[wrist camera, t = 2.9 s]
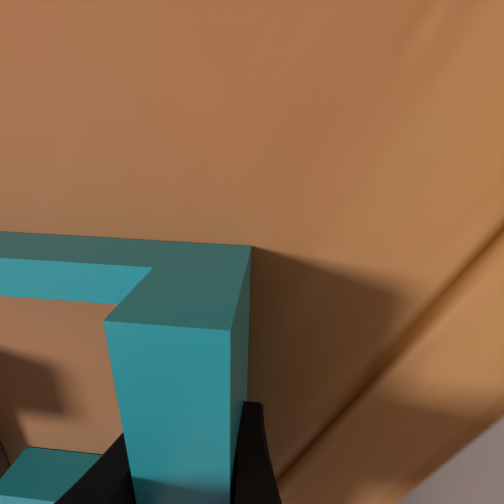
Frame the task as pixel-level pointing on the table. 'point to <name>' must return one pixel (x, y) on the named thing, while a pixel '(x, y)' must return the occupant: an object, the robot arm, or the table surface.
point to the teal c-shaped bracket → (148, 359)
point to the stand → (3, 463)
